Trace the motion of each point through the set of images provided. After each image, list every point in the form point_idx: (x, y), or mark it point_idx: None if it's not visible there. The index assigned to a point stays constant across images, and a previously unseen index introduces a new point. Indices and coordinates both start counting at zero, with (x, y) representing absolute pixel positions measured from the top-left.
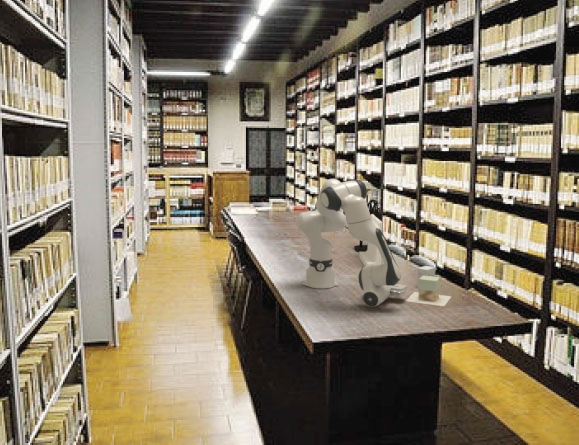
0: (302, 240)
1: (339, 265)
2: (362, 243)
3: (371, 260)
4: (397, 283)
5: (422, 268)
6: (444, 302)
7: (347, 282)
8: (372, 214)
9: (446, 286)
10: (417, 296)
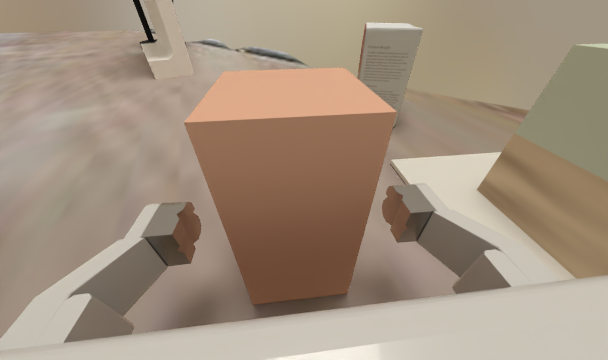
0: (45, 45)
1: (72, 79)
2: (151, 33)
3: (163, 54)
4: (396, 188)
5: (387, 26)
6: None
7: (10, 170)
8: None
9: (407, 95)
10: (482, 216)
